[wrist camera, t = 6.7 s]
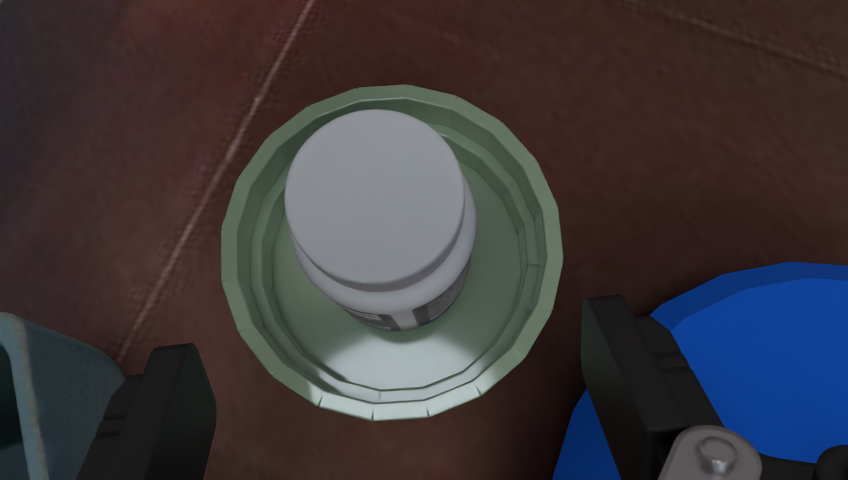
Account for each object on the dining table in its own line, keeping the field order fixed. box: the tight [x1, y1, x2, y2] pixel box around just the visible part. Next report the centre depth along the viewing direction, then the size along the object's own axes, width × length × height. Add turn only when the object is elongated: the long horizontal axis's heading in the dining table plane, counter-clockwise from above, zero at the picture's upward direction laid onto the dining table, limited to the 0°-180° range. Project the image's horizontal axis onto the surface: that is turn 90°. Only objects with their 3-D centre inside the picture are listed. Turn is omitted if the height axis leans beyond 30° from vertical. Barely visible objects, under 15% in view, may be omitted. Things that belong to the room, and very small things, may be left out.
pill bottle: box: [284, 109, 477, 331], centre depth 19 cm, size 5×5×8 cm
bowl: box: [221, 85, 563, 421], centre depth 22 cm, size 10×10×4 cm
